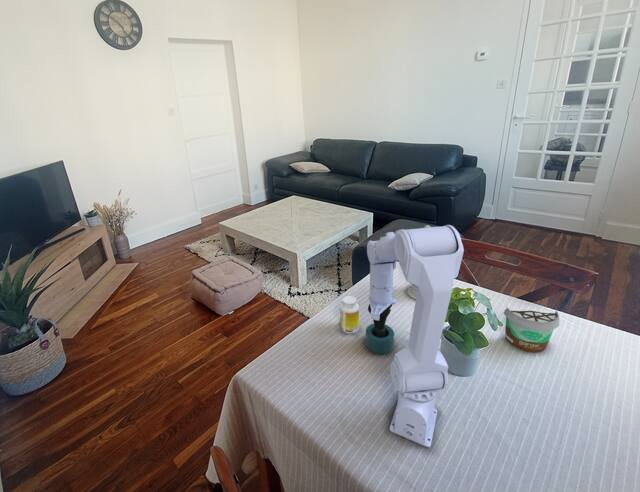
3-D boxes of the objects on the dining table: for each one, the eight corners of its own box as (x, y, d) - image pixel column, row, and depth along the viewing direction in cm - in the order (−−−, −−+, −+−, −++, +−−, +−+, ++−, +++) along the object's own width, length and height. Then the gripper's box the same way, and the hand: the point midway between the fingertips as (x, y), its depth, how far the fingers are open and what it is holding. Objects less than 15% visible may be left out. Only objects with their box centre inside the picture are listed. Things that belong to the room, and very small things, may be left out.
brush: (383, 340, 92) (384, 317, 89) (374, 338, 93) (374, 315, 90) (385, 334, 94) (386, 312, 91) (376, 332, 95) (376, 309, 92)
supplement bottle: (362, 328, 101) (363, 299, 98) (350, 337, 98) (350, 307, 94) (348, 320, 105) (348, 292, 102) (336, 328, 102) (335, 299, 99)
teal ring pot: (389, 357, 89) (390, 344, 88) (362, 349, 93) (362, 335, 92) (396, 340, 95) (396, 327, 94) (370, 333, 99) (370, 320, 97)
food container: (507, 353, 88) (513, 321, 84) (498, 337, 93) (504, 306, 90) (562, 358, 85) (571, 325, 81) (550, 341, 90) (558, 310, 86)
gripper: (392, 301, 79) (390, 347, 84) (401, 272, 91) (399, 314, 96) (362, 295, 83) (362, 340, 87) (375, 268, 94) (374, 308, 99)
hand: (379, 326), depth 92 cm, fingers closed on brush
